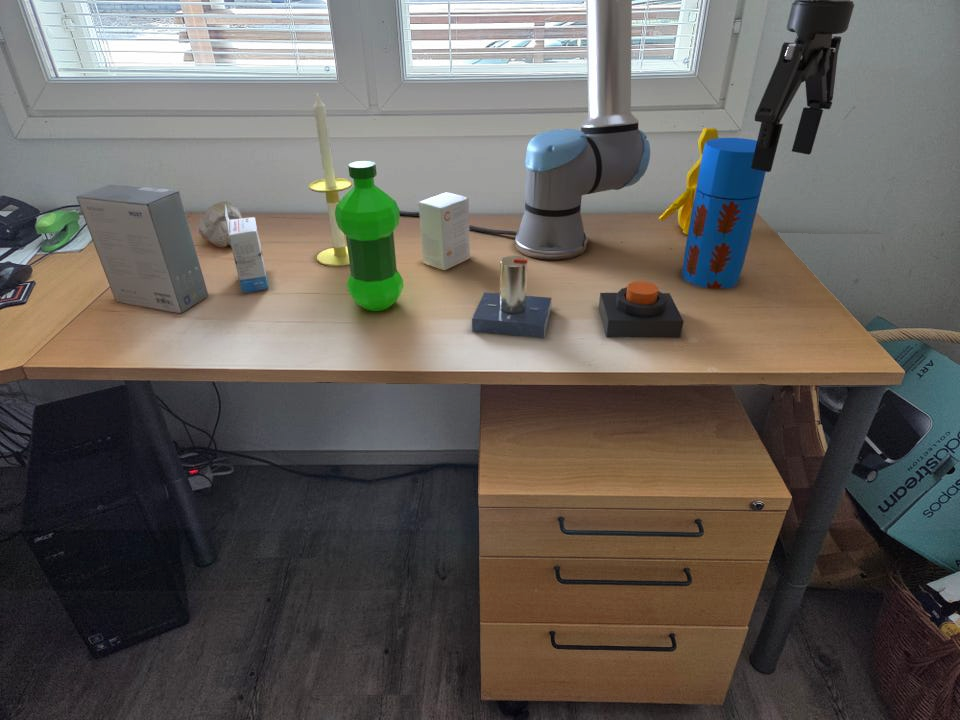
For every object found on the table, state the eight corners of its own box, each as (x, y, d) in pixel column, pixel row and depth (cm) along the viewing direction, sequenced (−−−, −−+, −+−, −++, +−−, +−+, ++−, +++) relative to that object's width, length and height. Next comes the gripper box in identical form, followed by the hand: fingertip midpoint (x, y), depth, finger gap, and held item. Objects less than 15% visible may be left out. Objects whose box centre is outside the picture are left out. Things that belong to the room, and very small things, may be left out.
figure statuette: (658, 236, 137) (673, 134, 126) (652, 224, 144) (666, 126, 132) (739, 237, 136) (762, 134, 124) (729, 225, 143) (751, 126, 131)
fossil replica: (223, 256, 131) (261, 244, 138) (219, 218, 127) (258, 208, 134) (187, 240, 136) (225, 230, 143) (181, 203, 132) (221, 195, 139)
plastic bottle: (360, 323, 105) (340, 176, 91) (342, 298, 113) (321, 160, 99) (414, 310, 109) (403, 167, 95) (393, 287, 117) (380, 152, 103)
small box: (448, 251, 131) (446, 191, 124) (470, 258, 128) (469, 197, 121) (421, 263, 126) (417, 201, 119) (444, 271, 123) (441, 207, 116)
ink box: (269, 290, 116) (253, 214, 108) (242, 294, 115) (223, 218, 107) (266, 272, 123) (251, 200, 115) (240, 276, 122) (223, 203, 114)
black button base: (606, 337, 100) (609, 310, 97) (598, 308, 109) (601, 283, 106) (680, 338, 100) (685, 310, 97) (666, 309, 108) (671, 283, 105)
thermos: (743, 291, 114) (776, 153, 100) (683, 287, 115) (708, 151, 102) (734, 268, 123) (764, 138, 109) (679, 264, 124) (702, 136, 111)
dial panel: (472, 331, 102) (471, 317, 101) (484, 304, 110) (484, 291, 109) (543, 338, 100) (544, 324, 99) (550, 310, 108) (551, 296, 107)
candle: (306, 262, 127) (277, 93, 110) (334, 245, 135) (310, 85, 117) (348, 269, 124) (324, 97, 106) (373, 251, 132) (355, 88, 114)
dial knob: (497, 312, 102) (498, 263, 98) (502, 300, 106) (502, 252, 101) (523, 314, 102) (525, 265, 97) (527, 302, 105) (529, 254, 101)
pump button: (628, 305, 100) (630, 294, 99) (623, 291, 104) (625, 280, 103) (659, 305, 99) (661, 294, 98) (653, 291, 104) (655, 280, 103)
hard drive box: (210, 296, 114) (181, 190, 103) (181, 315, 108) (147, 204, 97) (145, 285, 119) (110, 182, 108) (113, 302, 113) (73, 195, 102)
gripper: (813, 4, 72) (767, 183, 84) (888, -4, 86) (840, 150, 98) (752, 1, 77) (717, 172, 88) (832, -6, 91) (793, 142, 102)
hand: (781, 161), depth 93 cm, fingers open, 13 cm apart
